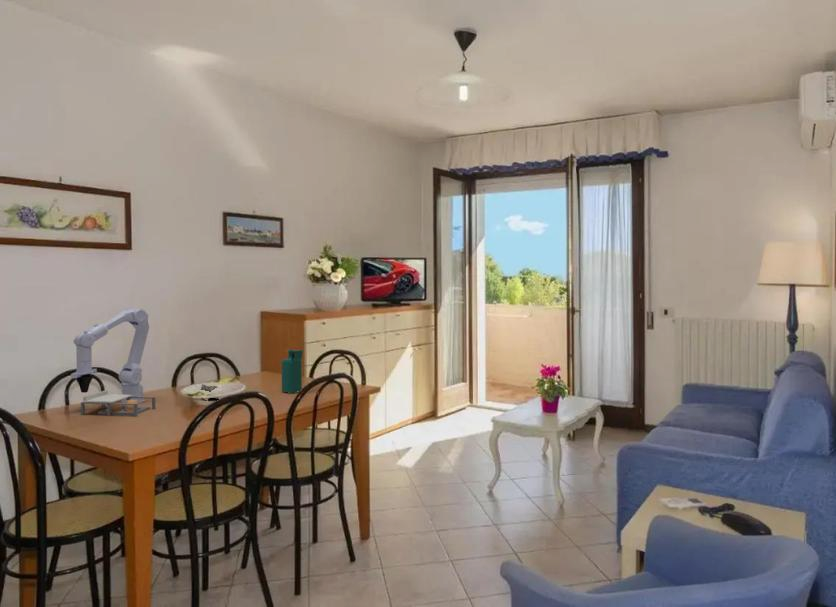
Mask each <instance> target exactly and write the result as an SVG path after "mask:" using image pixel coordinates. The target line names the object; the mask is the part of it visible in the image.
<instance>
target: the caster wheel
mask: <svg viewBox="0 0 836 607" xmlns="http://www.w3.org/2000/svg"><path fill="white" fill-rule="evenodd" d="M217 387H218V386H216V385H207V384H204V383H202V384H201V388H200V390H205V391H209V392H211V391H212V390H214V389H215V388H217Z"/></svg>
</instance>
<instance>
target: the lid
mask: <svg viewBox="0 0 836 607" xmlns="http://www.w3.org/2000/svg"><path fill="white" fill-rule="evenodd" d="M131 396H133V395H122V393H121V394H118V393H117V394H114V393H111V394H110V393H108V390H106V389H105V390H102V391H98V392H96V393H91V394H88V395H85V396H83V398H82V400H83V401H82V402H96V403H102V402H104V403H113V402H116V401H119V400H121V401H122V399H125V398H128V397H131Z"/></svg>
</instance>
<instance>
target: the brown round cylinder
mask: <svg viewBox="0 0 836 607" xmlns="http://www.w3.org/2000/svg"><path fill="white" fill-rule="evenodd" d="M127 404H138V403H137V400H127ZM126 406H127V409H126V411H134V405H126Z"/></svg>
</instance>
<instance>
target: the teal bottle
mask: <svg viewBox="0 0 836 607" xmlns="http://www.w3.org/2000/svg"><path fill="white" fill-rule="evenodd" d="M286 352H287V356H288V357H287V358H284V359H282V360H281V392H282V391H283V392H282V393H284V392H289V393H293V392H297V391H300V390H301V389H302V388H303V386H302V385H303V373H302V372H303V366H302V365H303V363H302V362H303V361H302V359H303V353H304V352H303V349H298V350H297V349H287V350H286ZM302 390H303V389H302ZM289 393H288V394H289ZM293 394H294V393H293Z"/></svg>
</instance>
